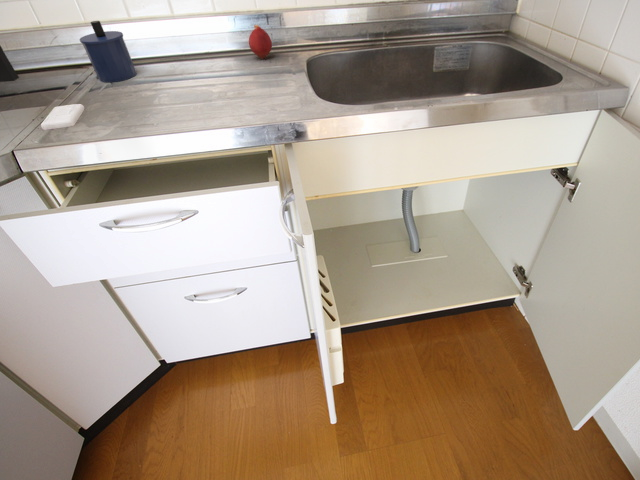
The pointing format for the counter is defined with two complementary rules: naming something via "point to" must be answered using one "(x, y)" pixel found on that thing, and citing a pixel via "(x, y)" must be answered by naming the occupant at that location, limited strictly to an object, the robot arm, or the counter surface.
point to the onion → (260, 42)
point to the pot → (111, 60)
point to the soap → (63, 116)
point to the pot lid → (100, 35)
